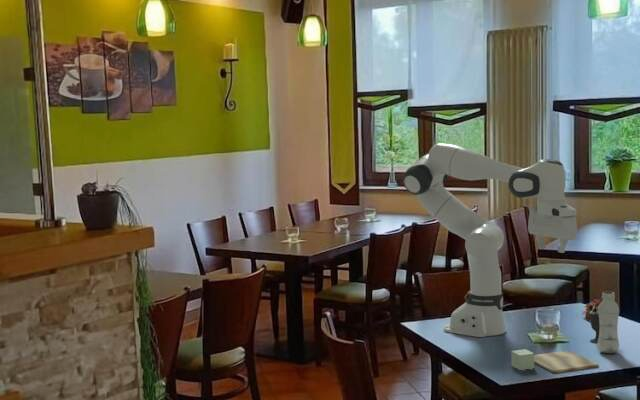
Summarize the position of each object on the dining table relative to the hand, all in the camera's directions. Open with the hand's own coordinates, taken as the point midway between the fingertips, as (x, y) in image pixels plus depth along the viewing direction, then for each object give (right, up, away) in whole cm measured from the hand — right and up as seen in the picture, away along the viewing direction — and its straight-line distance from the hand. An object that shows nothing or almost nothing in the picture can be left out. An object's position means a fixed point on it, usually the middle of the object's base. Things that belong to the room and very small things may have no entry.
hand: (551, 250), depth 255 cm
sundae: (+19, -32, +12) cm, 40 cm away
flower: (+29, -29, +42) cm, 58 cm away
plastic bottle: (+18, -34, -1) cm, 38 cm away
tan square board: (0, -35, -9) cm, 36 cm away
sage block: (-13, -36, -13) cm, 40 cm away
